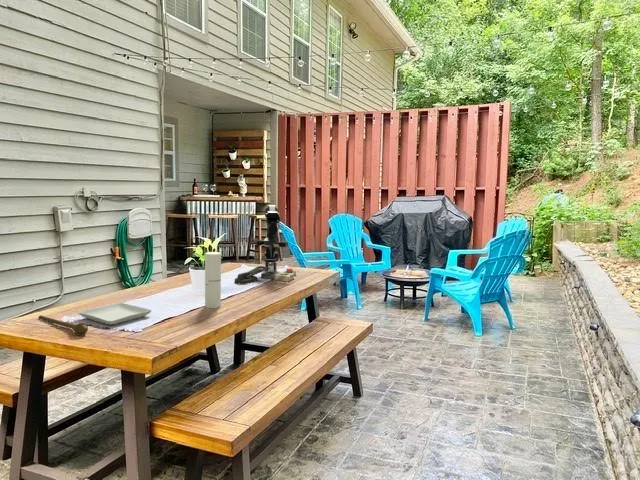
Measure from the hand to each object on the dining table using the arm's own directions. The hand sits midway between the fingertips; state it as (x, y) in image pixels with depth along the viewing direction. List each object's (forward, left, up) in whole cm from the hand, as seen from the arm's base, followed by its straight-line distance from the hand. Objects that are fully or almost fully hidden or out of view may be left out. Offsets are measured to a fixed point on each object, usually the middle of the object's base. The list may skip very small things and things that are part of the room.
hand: (271, 257), depth 299 cm
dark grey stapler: (-7, -13, -12) cm, 20 cm away
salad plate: (-27, -107, -13) cm, 111 cm away
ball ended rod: (-38, -125, -13) cm, 131 cm away
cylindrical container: (+1, -75, -12) cm, 76 cm away
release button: (+9, +9, -11) cm, 17 cm away
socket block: (+3, +4, -12) cm, 13 cm away
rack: (+10, -3, -12) cm, 16 cm away
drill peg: (0, 0, -12) cm, 12 cm away
